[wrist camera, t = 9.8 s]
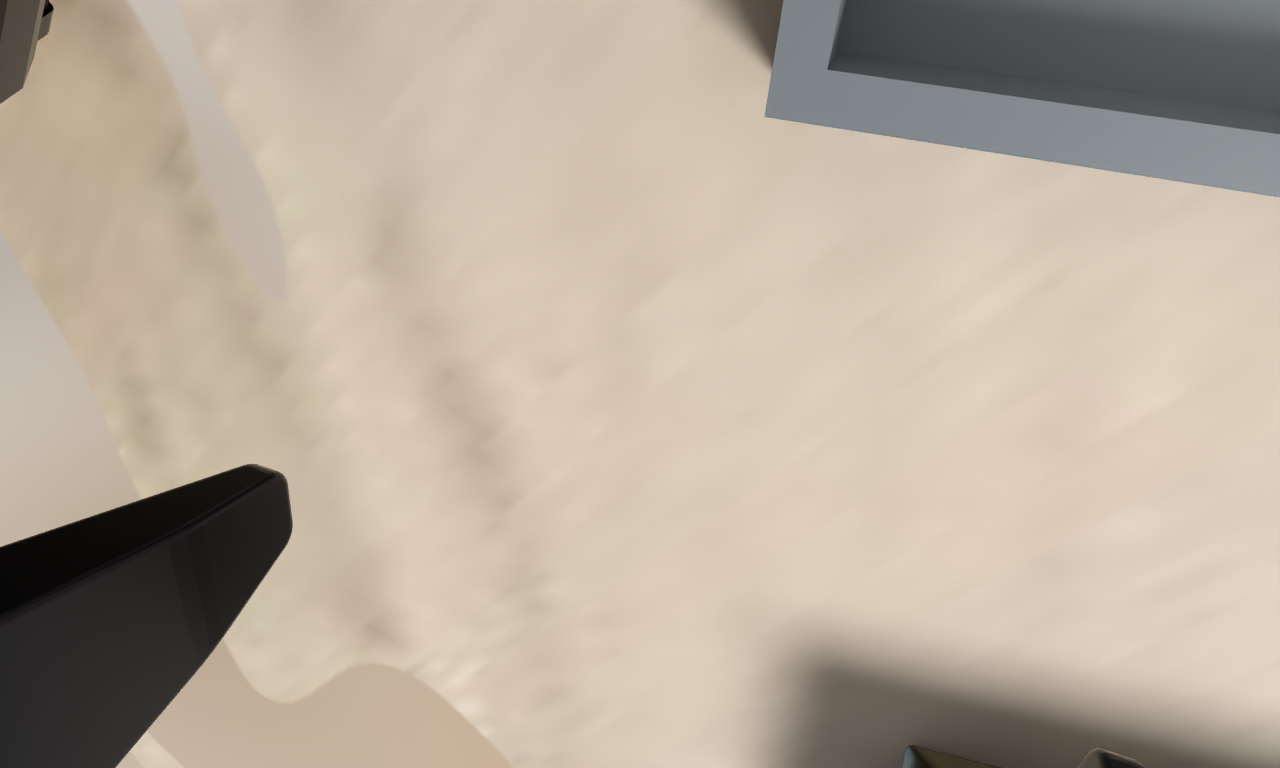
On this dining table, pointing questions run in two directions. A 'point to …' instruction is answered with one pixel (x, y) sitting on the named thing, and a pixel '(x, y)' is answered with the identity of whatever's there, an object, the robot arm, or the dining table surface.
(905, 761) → the beverage carton
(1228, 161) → the tray
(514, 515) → the dining table surface
